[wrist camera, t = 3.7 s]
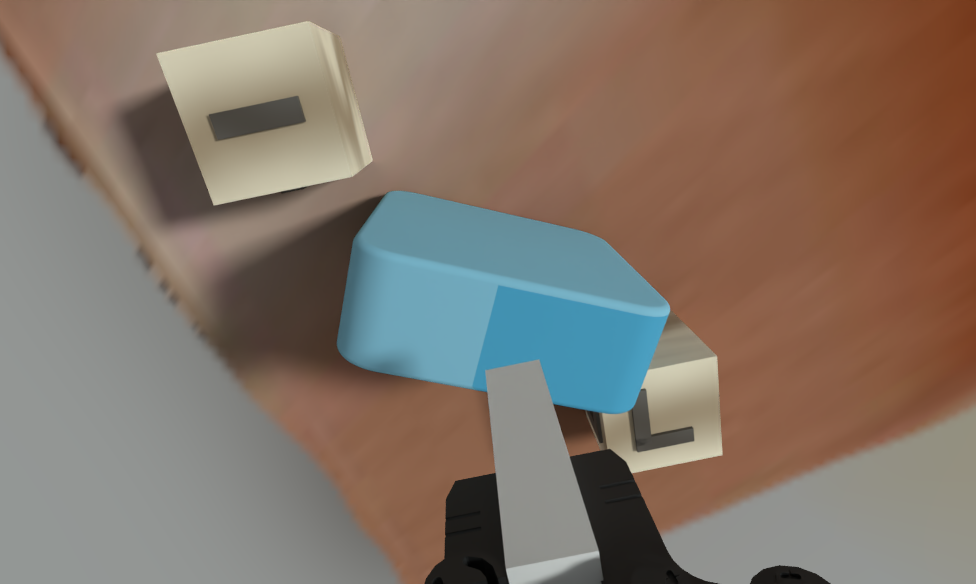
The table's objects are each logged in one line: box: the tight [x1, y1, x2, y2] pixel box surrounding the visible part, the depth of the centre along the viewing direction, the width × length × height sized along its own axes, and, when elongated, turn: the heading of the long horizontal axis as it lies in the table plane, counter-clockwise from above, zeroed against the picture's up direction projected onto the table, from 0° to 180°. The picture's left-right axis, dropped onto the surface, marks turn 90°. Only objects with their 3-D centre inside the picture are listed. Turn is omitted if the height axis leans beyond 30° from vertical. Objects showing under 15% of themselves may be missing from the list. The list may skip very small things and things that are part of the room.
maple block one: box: [156, 21, 373, 205], centre depth 25 cm, size 6×6×6 cm
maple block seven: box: [586, 311, 722, 473], centre depth 30 cm, size 6×6×6 cm
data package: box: [337, 191, 670, 414], centre depth 25 cm, size 12×4×12 cm, turn 76°
